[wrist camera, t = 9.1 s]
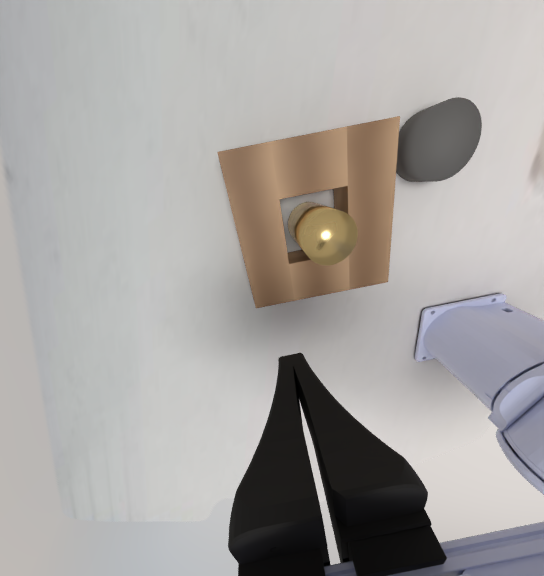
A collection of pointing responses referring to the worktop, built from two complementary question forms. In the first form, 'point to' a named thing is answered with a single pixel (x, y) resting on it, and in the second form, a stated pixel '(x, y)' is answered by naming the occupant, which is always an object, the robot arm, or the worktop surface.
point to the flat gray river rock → (438, 141)
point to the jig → (308, 179)
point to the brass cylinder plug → (323, 232)
